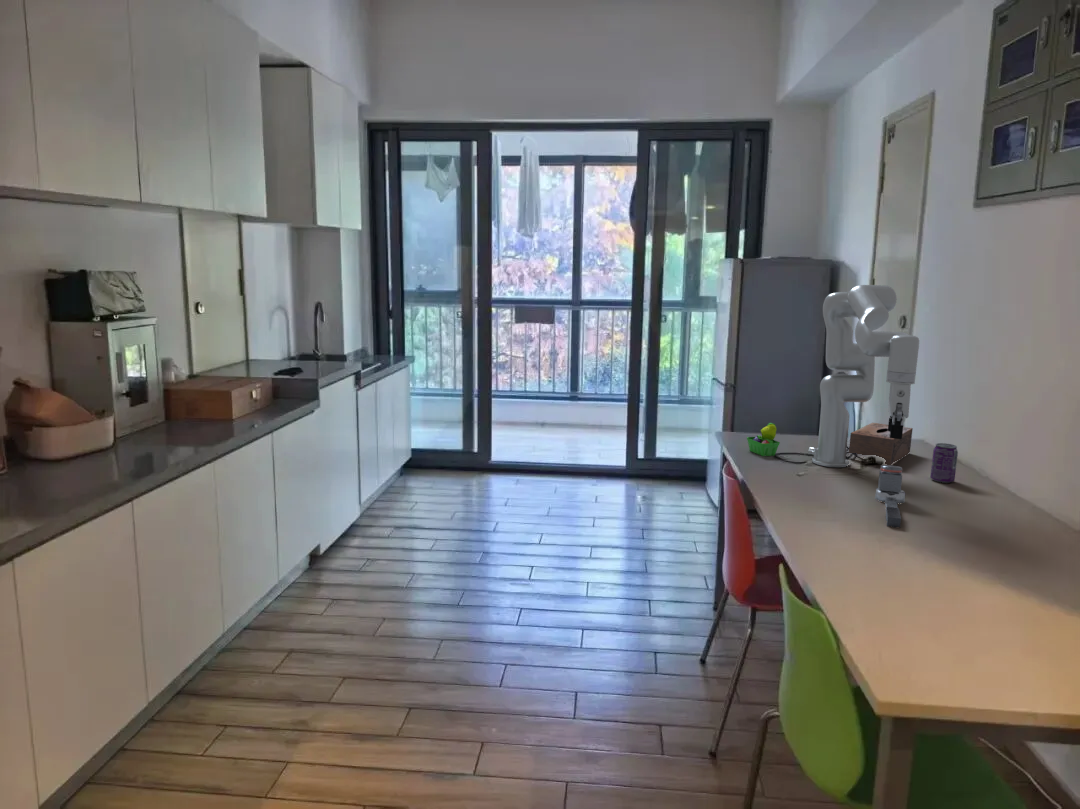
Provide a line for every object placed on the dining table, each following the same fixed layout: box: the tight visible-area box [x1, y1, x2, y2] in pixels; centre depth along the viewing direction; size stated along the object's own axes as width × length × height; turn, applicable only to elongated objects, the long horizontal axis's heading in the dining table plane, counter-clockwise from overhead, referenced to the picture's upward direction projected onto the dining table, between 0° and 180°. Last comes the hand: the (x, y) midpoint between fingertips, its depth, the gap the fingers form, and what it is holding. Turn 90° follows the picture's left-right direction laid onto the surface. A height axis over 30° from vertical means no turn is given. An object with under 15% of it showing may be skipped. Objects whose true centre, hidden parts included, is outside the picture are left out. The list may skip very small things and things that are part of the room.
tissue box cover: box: [848, 422, 913, 465], centre depth 284 cm, size 26×14×10 cm, turn 141°
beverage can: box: [930, 442, 959, 484], centre depth 252 cm, size 7×7×12 cm
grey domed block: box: [877, 464, 903, 493], centre depth 230 cm, size 6×6×7 cm
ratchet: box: [874, 487, 906, 528], centre depth 220 cm, size 30×8×6 cm, turn 158°
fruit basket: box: [746, 422, 781, 457], centre depth 285 cm, size 11×9×11 cm
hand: (894, 435), depth 227 cm, fingers open, 9 cm apart
